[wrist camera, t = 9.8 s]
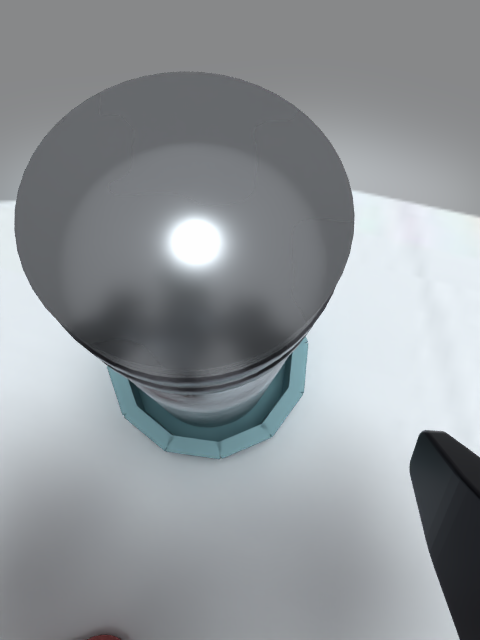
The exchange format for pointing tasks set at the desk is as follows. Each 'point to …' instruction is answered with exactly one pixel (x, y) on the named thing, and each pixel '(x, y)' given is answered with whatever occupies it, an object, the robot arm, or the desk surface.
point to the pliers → (104, 637)
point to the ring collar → (224, 438)
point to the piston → (186, 235)
